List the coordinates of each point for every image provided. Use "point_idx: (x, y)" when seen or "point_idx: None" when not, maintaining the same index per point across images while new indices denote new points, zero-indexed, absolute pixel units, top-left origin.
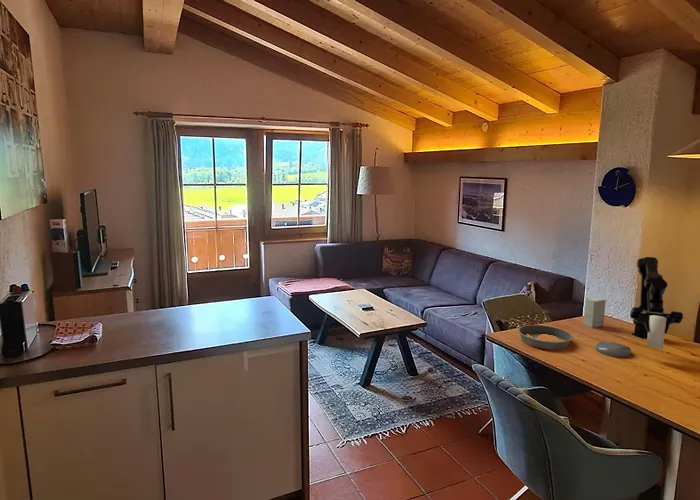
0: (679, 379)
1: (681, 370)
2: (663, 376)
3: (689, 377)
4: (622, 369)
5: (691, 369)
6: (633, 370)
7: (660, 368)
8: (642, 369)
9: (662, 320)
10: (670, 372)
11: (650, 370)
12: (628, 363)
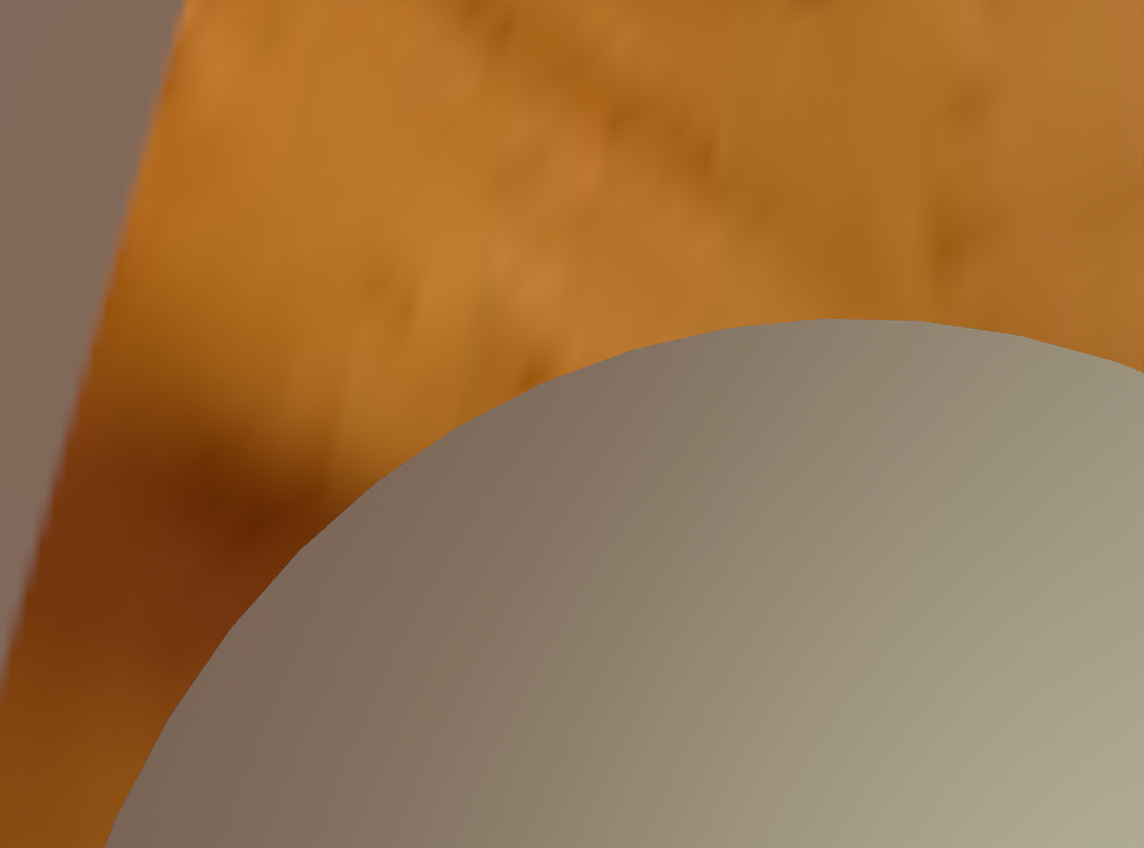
0: (362, 20)
1: (252, 424)
2: (565, 24)
3: (202, 168)
4: (1128, 7)
5: (74, 563)
6: (972, 47)
7: (569, 347)
8: (844, 156)
9: (521, 417)
10: (441, 240)
11: (729, 174)
12: (1062, 323)
